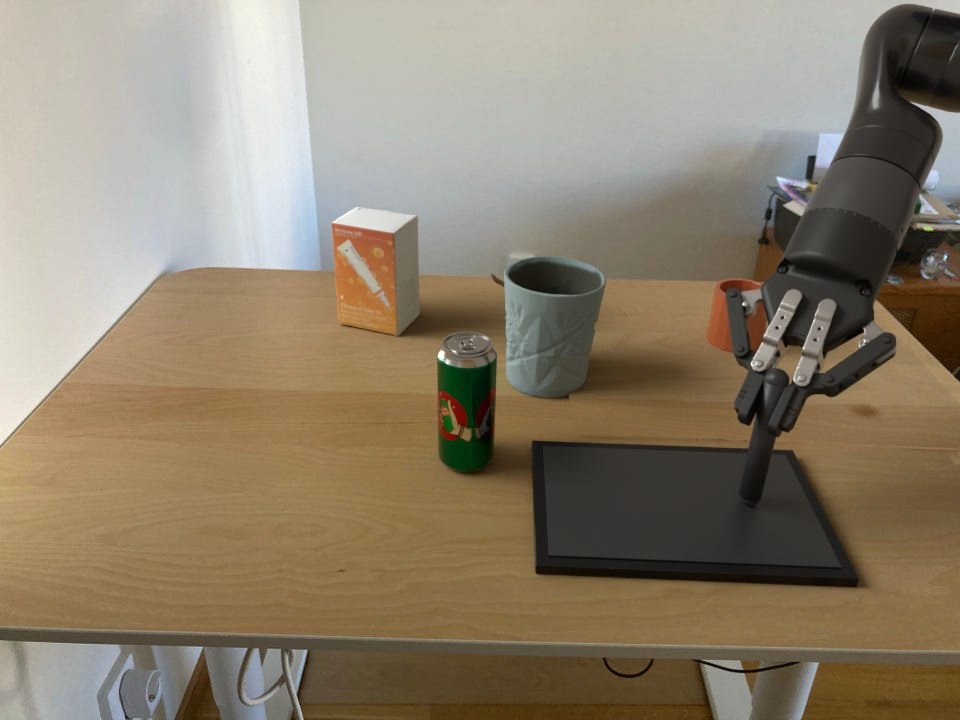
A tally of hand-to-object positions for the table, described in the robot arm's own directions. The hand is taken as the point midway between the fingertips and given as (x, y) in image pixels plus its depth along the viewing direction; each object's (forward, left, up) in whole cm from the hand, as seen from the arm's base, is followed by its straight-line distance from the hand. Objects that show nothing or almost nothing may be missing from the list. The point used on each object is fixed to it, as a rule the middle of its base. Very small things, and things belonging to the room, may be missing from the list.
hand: (758, 426), depth 58 cm
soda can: (+22, -8, -10) cm, 26 cm away
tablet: (+4, -2, -10) cm, 11 cm away
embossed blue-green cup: (+14, -23, -10) cm, 29 cm away
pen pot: (-8, -32, -10) cm, 34 cm away
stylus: (-1, -2, -9) cm, 9 cm away
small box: (+34, -35, -10) cm, 50 cm away
